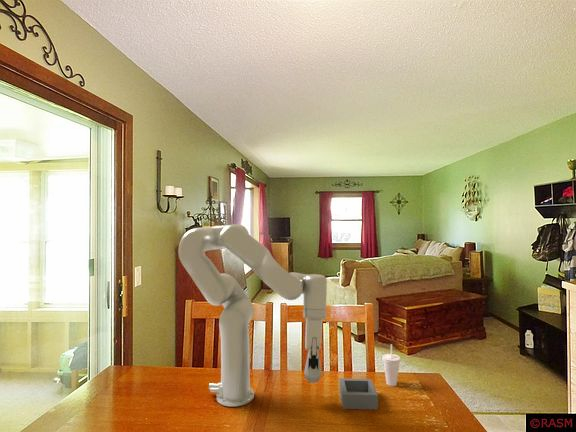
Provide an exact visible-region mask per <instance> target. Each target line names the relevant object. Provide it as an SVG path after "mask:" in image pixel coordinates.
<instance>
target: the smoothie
mask: <svg viewBox="0 0 576 432" xmlns="http://www.w3.org/2000/svg"><path fill="white" fill-rule="evenodd" d="M381 359H382V361H383V368H384V375H385V383H386V385H387V386H390V387H396V386H397V384H398V379H399V377H398V376H399V369H400V363H401V357H400V356H399V355H398V354H394V353H393V344H391V343H390V353H385V354H383V355H382V358H381Z"/></svg>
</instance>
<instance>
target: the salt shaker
mask: <svg viewBox="0 0 576 432" xmlns="http://www.w3.org/2000/svg"><path fill="white" fill-rule="evenodd" d="M311 348H312V347H311ZM316 349H317V347H316ZM307 351H308V353H307V356H306V361H305V367H304V371H303V372H304V377H305V380H306V381H307V382H308V383H312V384H315V383H319V382H320V380H321V377H322V372H323V371H322V365H321V359H320V353H319V351H318V358H319V360H318V369H317V366H316V368H315V369H312V368H311V366H310V367H309V370H308V364H309V356H310V349H308V350H307ZM311 352H312V351H311Z"/></svg>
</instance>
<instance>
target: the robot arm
mask: <svg viewBox="0 0 576 432" xmlns="http://www.w3.org/2000/svg"><path fill="white" fill-rule="evenodd" d="M223 249H226V250H228V252H230V253H231V254H233V255H234V256H235V257H236V258H237V259H238V260H240V261H241V262H242V263H243V264H245V265H246V266H248V267H249V268H250V269H251V270H252V271H253V272H254V273H255V275H256V276H257V277H258V278H259V279H260V280H261V281H262V282H263V283H264V284H265V285H266V286H268V287H269V288H270V289H271V290H272V291H273V292H275V293H276V294H278V295H279V296H280V297H281V298H283V299H284V300H288V301H296V300H297V299H298V298H300V297H301V295H302V294H303V311H302V317H303V318H305V334H304V335H305V336H304V338H305V340H304V342H305V343H304V345H305V346H304V348H305V350H306V351H308V350H309V349H310V356H309V364H308V370H309V367H310V366H311V368H312V369H315V368H316V366H317V369H318V360H319V358H320V357H319V358H318V352H319V351H320V350H321V345H322V335H323V334H322V333H323V320H325V319H326V318H327V293H328V292H327V289H328V281H327V280H328V279H327V277H326V276H325V275H323V274H317V273H312V274H311V273H310V274H306V273H301V272H295V271H293V272H292V271H291V272H288V271H287V270H286V269H284V267H282V266H281V265H280V264H279V262H278V261H276V260H275V259H274V257H273V255H272V253H271V251H270V250H269V249H268V248H267V247H266V246H265V245H263V244H262V243H261V242H259V241H258V240H257V239H256V238H254V237H253V236H251V235H250V234H249V231H248V229H247V228H246V227H245V226H243V225H242V224H239V223H238V224H237V223H236V224H235V223H233V224H229V225H220V226H219V225H218V226H205V227H204V226H203V227H195V228H192V229H189V230H188V231H186V232H185V233H184V234H183V235H182V237H181V239H180V241H179V245H178V250H177V252H178V258H179V261H180V262H181V265H182V266H183V268H184V269H185V271H186V272H187V273H188V275H189V276H190V278H191V279H192V281H193V282H194V283H195V285H196V287H197V288H198V290H199V291H200V292H201V295H202V296H203V298H204V299H205V300H206V301H207V303H208V304H210V305H211V306H216V307H217V306H218V307H219V306H220V305H221V306H222V307H223V310H222V312H221V314H220V315H219V320H218V327H219V334H220V382H218V383H215V382H213V383H212V382H211V383H210V382H209V385H208V390H209V391H210V393H216V401H217V403H218V404H219V405H222V406H225V407H229V408H230V407H231V408H232V407H233V408H234V407H241V406H244V405H247V404H249V403H250V402H252V401H253V399H254V397H255V391H254V389H253V388H252V387H250V386H251V385H250V381H251V380H250V372H251V371H250V335H249V324H250V321H251V320H252V318H253V316H254V313H255V311H254V310H255V309H254V304H253V302H252V301H251V300H250V298H249V297H248V295H247V294H246V292H245V291H244V290H243V288H242V286H241V285H240V284H239V282H238V281H237V279H236V278H234V276H232V275H231V274H228V273H224V272H223V273H220V272H219V269H217V267H216V266H215V264H214V263H213V261H212V260H210V258H209V257H208V256H207V255H206V252H208V251H215V250H223ZM311 347H312V348H311ZM316 347H317V349H316ZM311 351H312V352H311Z"/></svg>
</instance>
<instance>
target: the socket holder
mask: <svg viewBox="0 0 576 432" xmlns="http://www.w3.org/2000/svg"><path fill="white" fill-rule="evenodd" d="M338 379H339V385H338V386H339V396H340V401H341V406H342V409H343V410H379V394H378V391H377V390H376V387H375V384H374V382H373V380H372V378H371V379H370V378H341V377H340V378H338Z"/></svg>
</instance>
